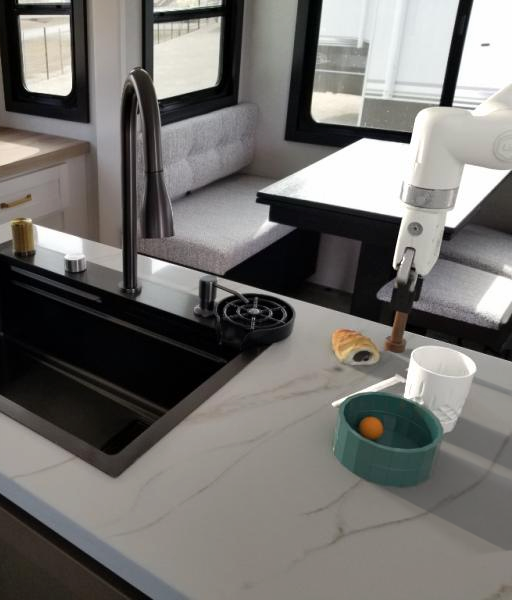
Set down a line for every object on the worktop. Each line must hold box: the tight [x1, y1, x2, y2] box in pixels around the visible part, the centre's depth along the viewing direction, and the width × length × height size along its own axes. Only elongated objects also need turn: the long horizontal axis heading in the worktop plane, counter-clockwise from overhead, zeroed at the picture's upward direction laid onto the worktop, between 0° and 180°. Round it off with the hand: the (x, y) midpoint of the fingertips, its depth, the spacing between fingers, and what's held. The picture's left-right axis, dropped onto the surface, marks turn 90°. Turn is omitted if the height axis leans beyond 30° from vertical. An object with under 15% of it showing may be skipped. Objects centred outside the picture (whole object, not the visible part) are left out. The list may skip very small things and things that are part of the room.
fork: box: [331, 367, 409, 408], centre depth 96 cm, size 3×20×2 cm, turn 118°
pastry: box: [331, 328, 381, 366], centre depth 105 cm, size 9×7×4 cm
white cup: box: [403, 345, 477, 434], centre depth 87 cm, size 8×8×10 cm
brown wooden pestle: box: [383, 275, 413, 354], centre depth 103 cm, size 3×3×14 cm
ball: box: [359, 417, 383, 440], centre depth 85 cm, size 3×3×3 cm
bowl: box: [331, 391, 444, 488], centre depth 81 cm, size 12×12×6 cm
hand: (404, 303), depth 102 cm, fingers open, 4 cm apart
